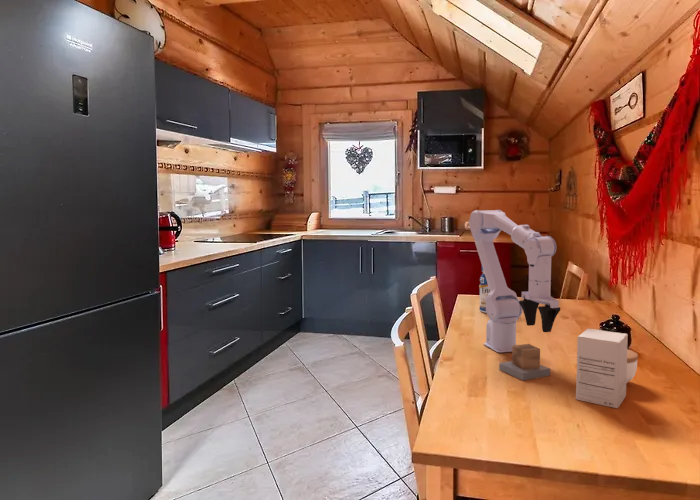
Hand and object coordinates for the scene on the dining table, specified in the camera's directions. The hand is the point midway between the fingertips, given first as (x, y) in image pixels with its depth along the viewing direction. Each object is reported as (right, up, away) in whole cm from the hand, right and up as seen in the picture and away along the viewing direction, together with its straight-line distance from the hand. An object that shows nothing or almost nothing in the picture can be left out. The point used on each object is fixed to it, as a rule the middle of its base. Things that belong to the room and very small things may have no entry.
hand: (538, 328), depth 140 cm
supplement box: (+5, -12, -24) cm, 28 cm away
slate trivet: (-6, -11, -7) cm, 15 cm away
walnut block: (-6, -9, -7) cm, 13 cm away
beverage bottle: (+5, -4, +68) cm, 68 cm away
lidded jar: (+13, -11, -14) cm, 23 cm away
